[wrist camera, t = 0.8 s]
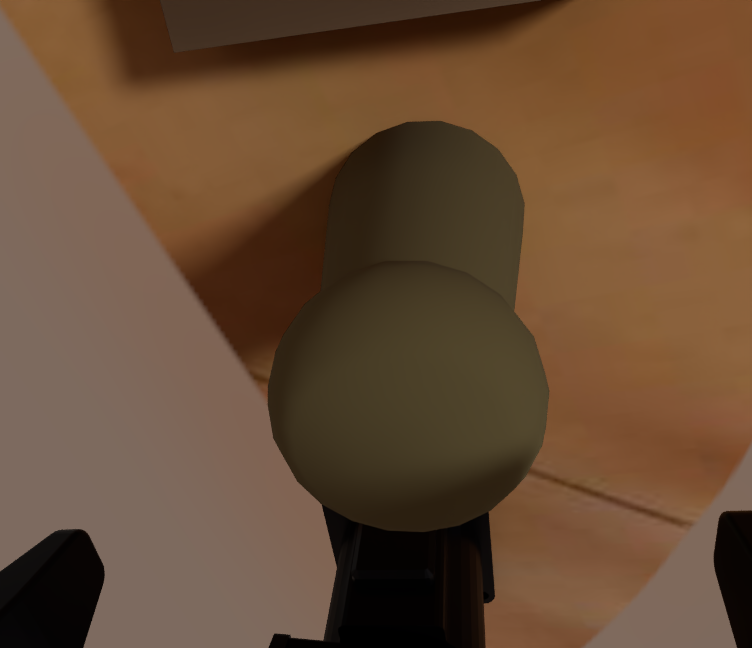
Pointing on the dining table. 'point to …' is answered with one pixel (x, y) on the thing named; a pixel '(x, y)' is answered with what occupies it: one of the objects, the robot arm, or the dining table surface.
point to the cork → (414, 339)
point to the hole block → (292, 17)
